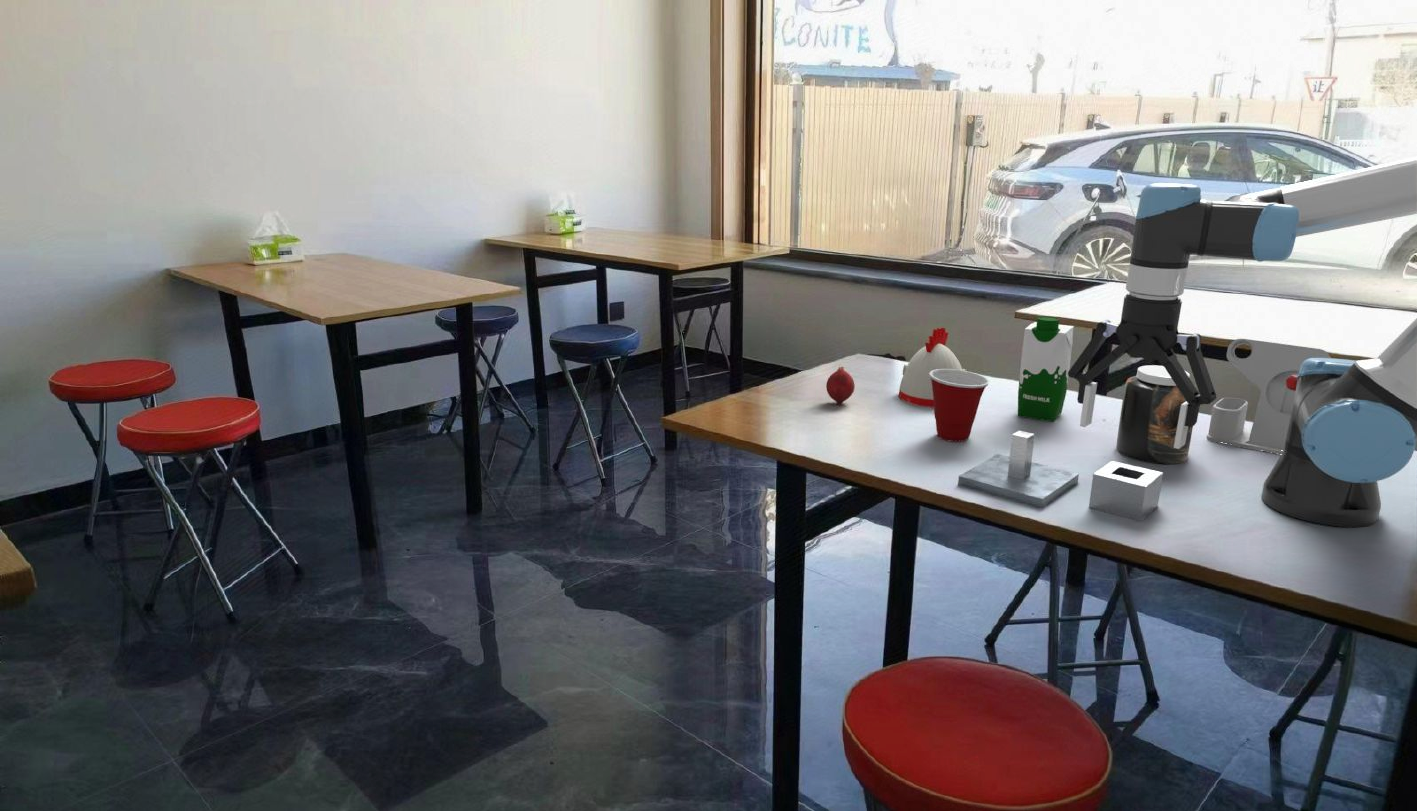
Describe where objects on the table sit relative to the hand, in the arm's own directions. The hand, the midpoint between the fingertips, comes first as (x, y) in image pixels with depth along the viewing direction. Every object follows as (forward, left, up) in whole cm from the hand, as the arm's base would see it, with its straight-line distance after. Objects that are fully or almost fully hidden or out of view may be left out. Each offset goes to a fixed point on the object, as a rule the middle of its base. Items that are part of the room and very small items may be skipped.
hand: (1130, 435), depth 138 cm
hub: (0, 0, -12) cm, 12 cm away
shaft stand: (+16, +2, -12) cm, 20 cm away
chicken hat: (+51, -32, -12) cm, 61 cm away
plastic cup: (+35, -12, -12) cm, 39 cm away
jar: (+5, -28, -12) cm, 31 cm away
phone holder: (-9, -47, -12) cm, 49 cm away
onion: (+63, -15, -12) cm, 66 cm away
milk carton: (+29, -36, -12) cm, 48 cm away
